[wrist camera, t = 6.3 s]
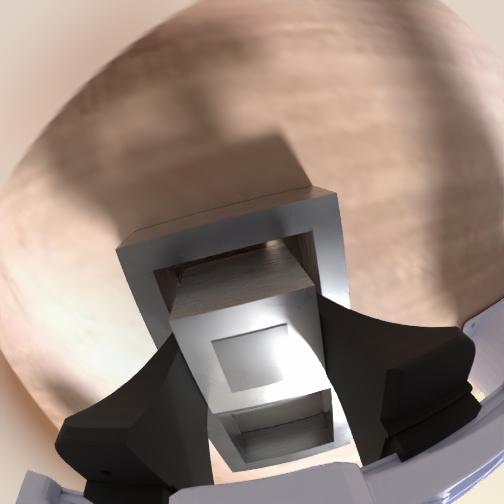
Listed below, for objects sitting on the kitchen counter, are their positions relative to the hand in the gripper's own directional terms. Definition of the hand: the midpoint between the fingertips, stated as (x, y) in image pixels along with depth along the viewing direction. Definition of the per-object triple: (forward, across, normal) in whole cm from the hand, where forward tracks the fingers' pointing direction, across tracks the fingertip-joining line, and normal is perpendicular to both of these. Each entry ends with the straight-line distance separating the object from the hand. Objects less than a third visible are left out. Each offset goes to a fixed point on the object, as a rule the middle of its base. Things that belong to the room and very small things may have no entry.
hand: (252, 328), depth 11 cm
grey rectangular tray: (+4, 0, +4) cm, 6 cm away
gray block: (+2, 0, 0) cm, 2 cm away
